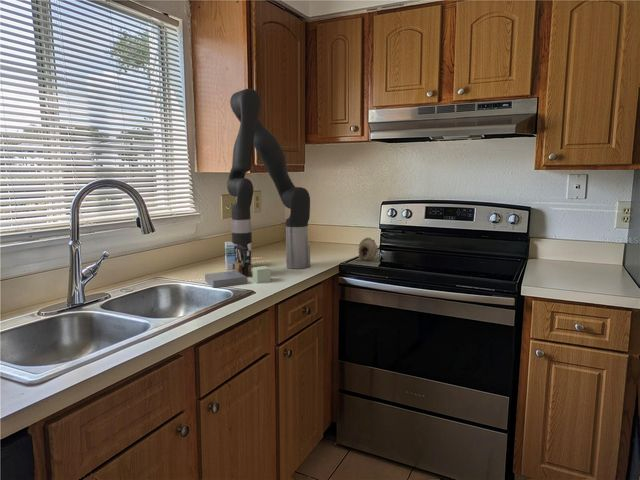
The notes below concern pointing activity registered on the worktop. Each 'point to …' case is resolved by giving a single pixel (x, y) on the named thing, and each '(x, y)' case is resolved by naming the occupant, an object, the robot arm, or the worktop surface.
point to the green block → (261, 274)
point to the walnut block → (239, 268)
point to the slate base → (225, 279)
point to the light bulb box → (231, 255)
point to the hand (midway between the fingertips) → (243, 274)
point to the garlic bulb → (367, 249)
